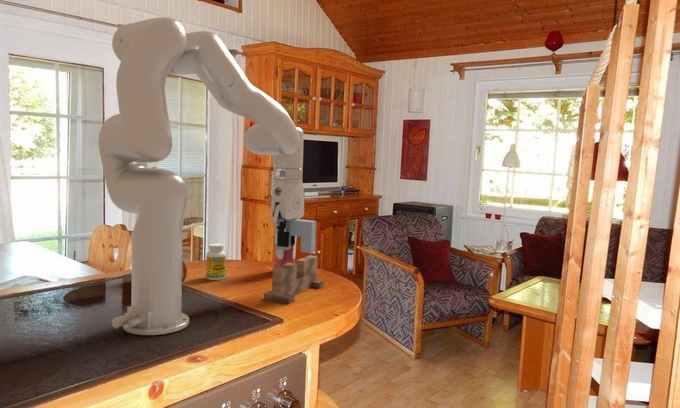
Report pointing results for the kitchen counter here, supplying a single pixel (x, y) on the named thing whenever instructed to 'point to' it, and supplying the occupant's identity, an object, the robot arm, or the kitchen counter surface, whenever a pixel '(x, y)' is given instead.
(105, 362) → the kitchen counter surface
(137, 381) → the kitchen counter surface
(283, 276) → the walnut slotted rail
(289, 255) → the liquor
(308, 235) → the blue slotted plate
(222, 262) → the supplement bottle
